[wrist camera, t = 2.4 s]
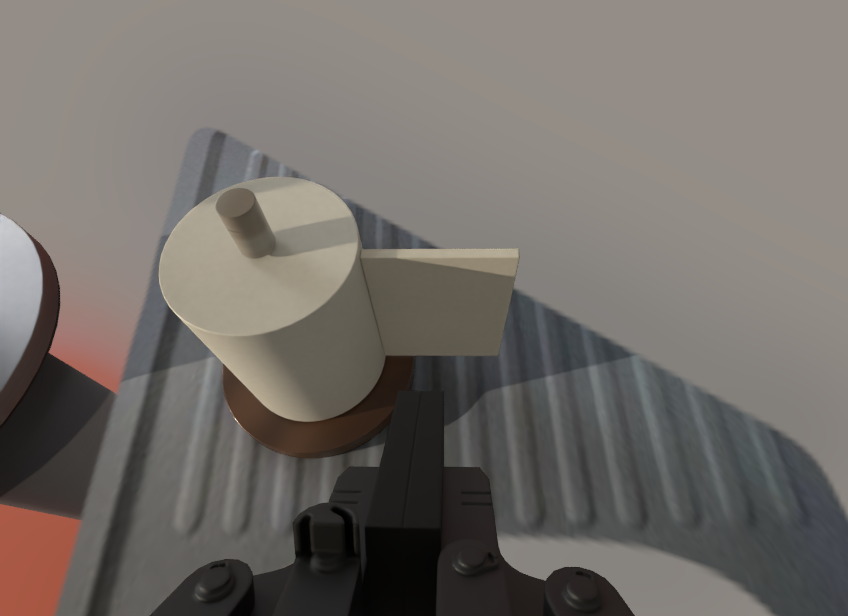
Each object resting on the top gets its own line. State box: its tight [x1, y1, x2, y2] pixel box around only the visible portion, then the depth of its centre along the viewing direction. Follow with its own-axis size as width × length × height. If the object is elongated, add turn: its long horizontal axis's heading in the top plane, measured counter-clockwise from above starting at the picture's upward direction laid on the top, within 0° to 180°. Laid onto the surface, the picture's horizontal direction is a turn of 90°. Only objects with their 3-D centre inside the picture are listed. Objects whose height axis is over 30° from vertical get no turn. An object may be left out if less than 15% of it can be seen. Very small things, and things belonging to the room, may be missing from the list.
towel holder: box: [215, 188, 415, 458], centre depth 29 cm, size 14×14×18 cm
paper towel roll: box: [159, 177, 520, 422], centre depth 29 cm, size 18×10×12 cm, turn 72°
